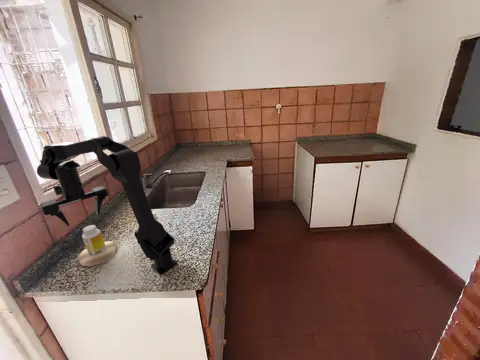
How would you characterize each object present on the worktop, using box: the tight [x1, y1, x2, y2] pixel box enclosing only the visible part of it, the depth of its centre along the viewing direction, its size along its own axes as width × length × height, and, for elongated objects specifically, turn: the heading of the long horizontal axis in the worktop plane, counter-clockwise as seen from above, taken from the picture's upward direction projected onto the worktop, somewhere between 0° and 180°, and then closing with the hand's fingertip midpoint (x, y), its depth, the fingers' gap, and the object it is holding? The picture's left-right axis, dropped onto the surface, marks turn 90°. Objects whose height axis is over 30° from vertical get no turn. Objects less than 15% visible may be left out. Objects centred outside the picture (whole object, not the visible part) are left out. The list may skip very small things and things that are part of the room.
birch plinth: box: [77, 240, 118, 267], centre depth 80 cm, size 12×12×2 cm
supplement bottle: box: [81, 224, 106, 256], centre depth 78 cm, size 6×6×10 cm
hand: (84, 220), depth 78 cm, fingers open, 9 cm apart
